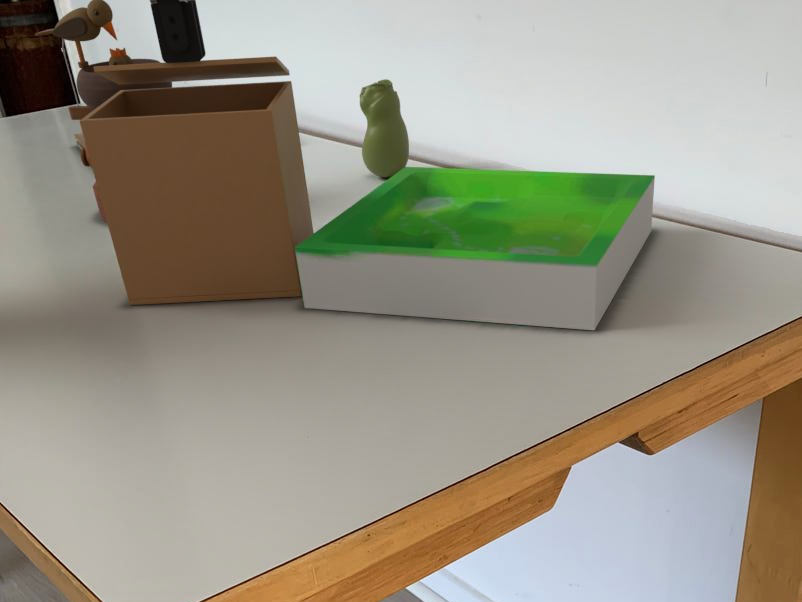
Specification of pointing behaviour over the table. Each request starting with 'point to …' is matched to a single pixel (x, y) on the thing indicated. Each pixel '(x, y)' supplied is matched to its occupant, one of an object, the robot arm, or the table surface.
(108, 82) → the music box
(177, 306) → the table surface
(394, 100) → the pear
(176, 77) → the flap
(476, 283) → the green flat square box
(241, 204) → the carton
